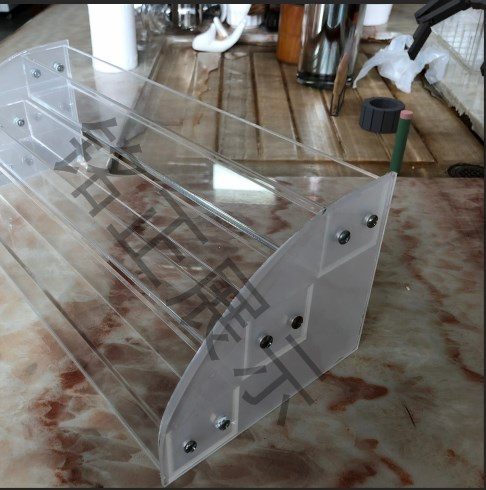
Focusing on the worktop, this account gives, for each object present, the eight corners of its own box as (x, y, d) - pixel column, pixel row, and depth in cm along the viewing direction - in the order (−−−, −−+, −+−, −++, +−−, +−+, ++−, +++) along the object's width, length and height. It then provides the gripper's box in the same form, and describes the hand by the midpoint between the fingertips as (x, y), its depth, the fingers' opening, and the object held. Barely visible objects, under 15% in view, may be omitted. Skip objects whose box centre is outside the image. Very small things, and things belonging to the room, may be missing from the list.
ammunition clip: (336, 100, 144) (343, 49, 138) (343, 100, 144) (351, 50, 137) (328, 115, 136) (336, 62, 129) (337, 116, 135) (344, 63, 129)
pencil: (401, 174, 111) (415, 112, 104) (394, 176, 110) (407, 115, 103) (393, 170, 112) (406, 109, 106) (386, 172, 112) (398, 111, 105)
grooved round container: (408, 127, 129) (413, 105, 126) (381, 136, 125) (385, 113, 123) (378, 115, 135) (382, 94, 132) (350, 123, 132) (354, 101, 129)
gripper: (584, -15, 102) (518, 91, 102) (444, -32, 118) (388, 61, 118) (583, -46, 96) (514, 67, 96) (437, -59, 112) (378, 39, 112)
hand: (445, 64), depth 107 cm, fingers open, 13 cm apart
